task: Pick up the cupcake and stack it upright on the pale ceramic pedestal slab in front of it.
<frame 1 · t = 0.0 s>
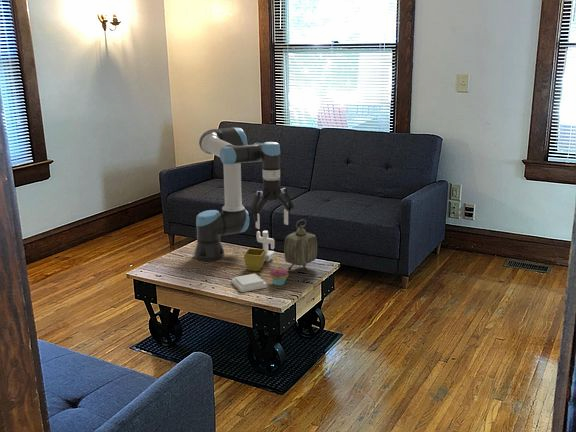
hand: (272, 226, 264), 28 cm above the table, fingers open, 13 cm apart
figurine: (265, 259, 304), on the table
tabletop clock: (301, 269, 291), on the table
pedestal: (249, 285, 272), on the table
flower pot: (255, 269, 291), on the table
cupcake: (279, 283, 274), on the table
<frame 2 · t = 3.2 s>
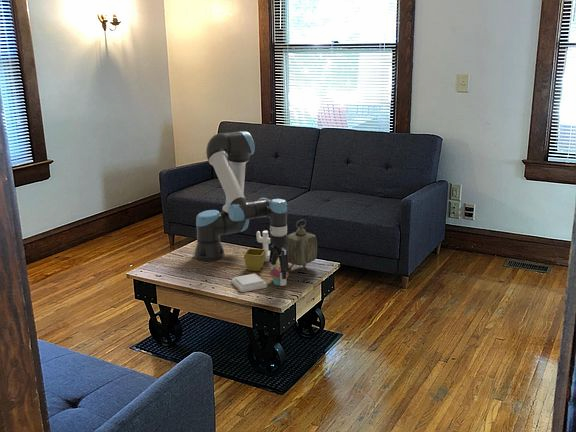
hand: (279, 281, 274), 1 cm above the table, fingers closed on cupcake, 8 cm apart
cupcake: (279, 283, 274), on the table, touching gripper
everything else where it was.
when the fingers open (5 cm above the table, at t = 8.5 s): cupcake drops 1 cm, resting on pedestal.
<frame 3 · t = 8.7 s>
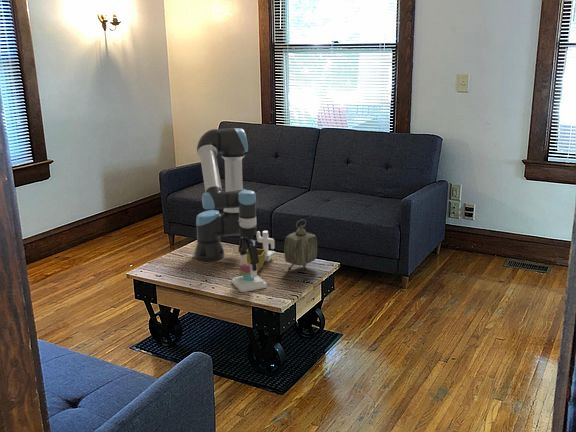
hand: (248, 272, 271), 6 cm above the table, fingers open, 11 cm apart
cupcake: (248, 279, 272), point 3 cm above the table, touching pedestal
everything else where it was.
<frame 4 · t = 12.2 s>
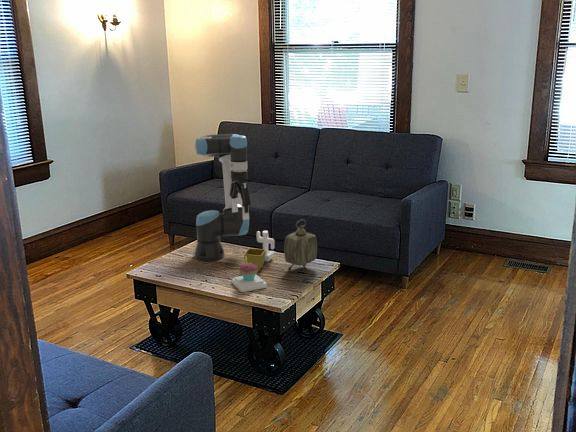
hand: (240, 215, 277), 29 cm above the table, fingers open, 13 cm apart
nothing on the table moved.
at the end: cupcake inside the target area on the pedestal (0.3 cm from its centre), point 2.8 cm above the pedestal's base; cupcake tilted 0°; the gripper is holding nothing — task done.
